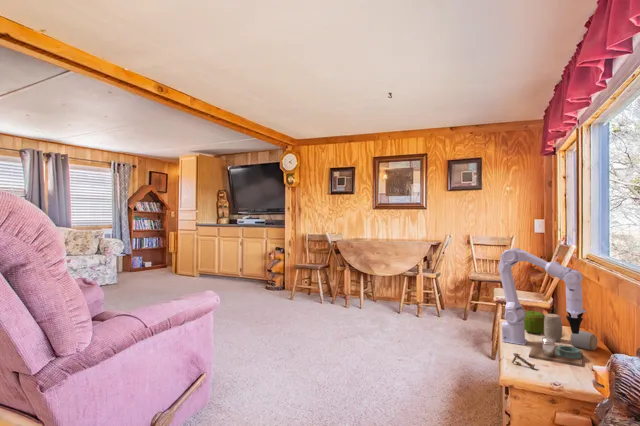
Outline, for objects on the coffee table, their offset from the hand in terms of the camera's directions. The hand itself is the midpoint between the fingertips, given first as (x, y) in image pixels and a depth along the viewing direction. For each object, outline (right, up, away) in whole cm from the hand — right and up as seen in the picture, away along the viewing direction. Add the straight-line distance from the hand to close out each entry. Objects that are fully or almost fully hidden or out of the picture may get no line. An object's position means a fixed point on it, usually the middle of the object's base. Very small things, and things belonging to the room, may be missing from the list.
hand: (575, 331), depth 152 cm
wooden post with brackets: (-28, -11, -10) cm, 32 cm away
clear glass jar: (-13, -9, -3) cm, 16 cm away
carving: (+3, -11, +18) cm, 21 cm away
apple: (+1, -11, +31) cm, 33 cm away
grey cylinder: (+10, -10, +8) cm, 16 cm away
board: (-9, -10, -1) cm, 14 cm away
